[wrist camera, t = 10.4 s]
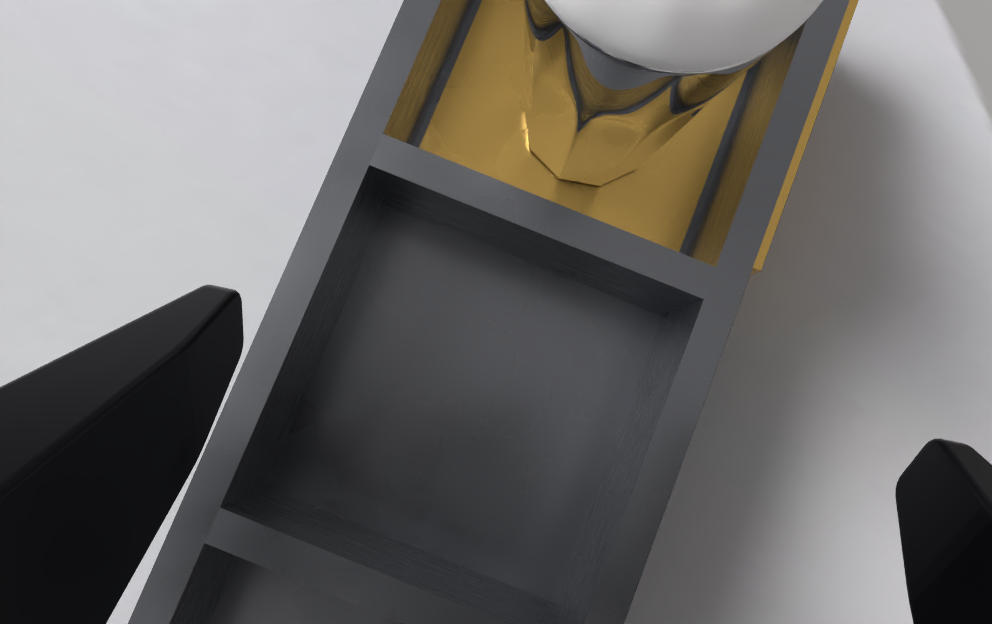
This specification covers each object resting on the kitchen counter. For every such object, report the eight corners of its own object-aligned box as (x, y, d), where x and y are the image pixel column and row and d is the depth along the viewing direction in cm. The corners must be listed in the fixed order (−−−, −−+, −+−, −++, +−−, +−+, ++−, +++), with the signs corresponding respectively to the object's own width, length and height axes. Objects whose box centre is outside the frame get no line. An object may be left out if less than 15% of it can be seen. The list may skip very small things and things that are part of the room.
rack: (454, 974, 17) (450, 1153, 13) (94, 826, 17) (-21, 959, 13) (801, 35, 20) (884, -55, 16) (491, -88, 20) (496, -209, 16)
